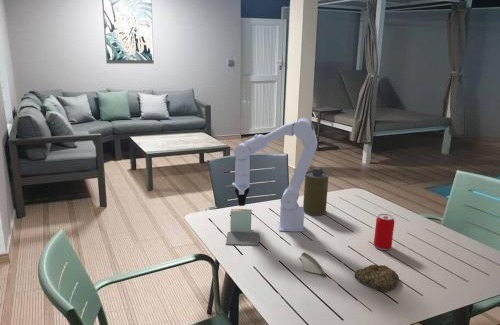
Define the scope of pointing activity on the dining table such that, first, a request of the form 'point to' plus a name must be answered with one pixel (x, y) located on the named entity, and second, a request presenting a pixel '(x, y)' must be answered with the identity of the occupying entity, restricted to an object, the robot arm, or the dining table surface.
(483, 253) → the dining table surface
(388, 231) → the beverage can
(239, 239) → the mat
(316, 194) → the canister
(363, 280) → the mossy rock
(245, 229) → the peach green flat block
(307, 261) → the ceramic fragment
